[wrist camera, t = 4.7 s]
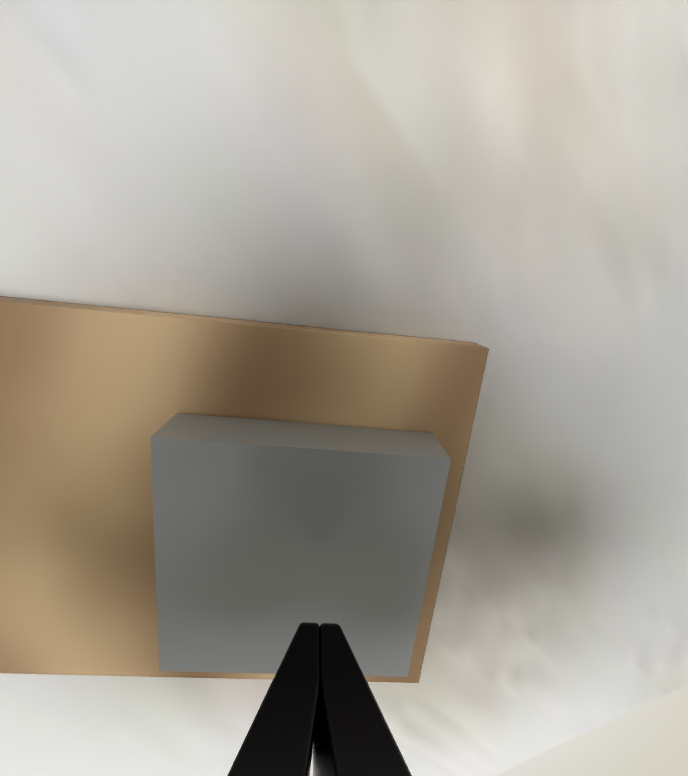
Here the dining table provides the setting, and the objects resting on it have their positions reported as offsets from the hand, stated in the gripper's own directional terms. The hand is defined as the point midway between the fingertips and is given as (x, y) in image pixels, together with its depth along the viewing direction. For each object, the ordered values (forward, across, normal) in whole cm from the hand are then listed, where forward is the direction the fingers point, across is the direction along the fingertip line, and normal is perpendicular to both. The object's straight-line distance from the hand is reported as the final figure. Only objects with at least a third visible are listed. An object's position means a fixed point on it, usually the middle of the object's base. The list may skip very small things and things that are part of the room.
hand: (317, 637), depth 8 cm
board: (+4, +3, 0) cm, 5 cm away
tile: (+3, +4, 0) cm, 5 cm away
